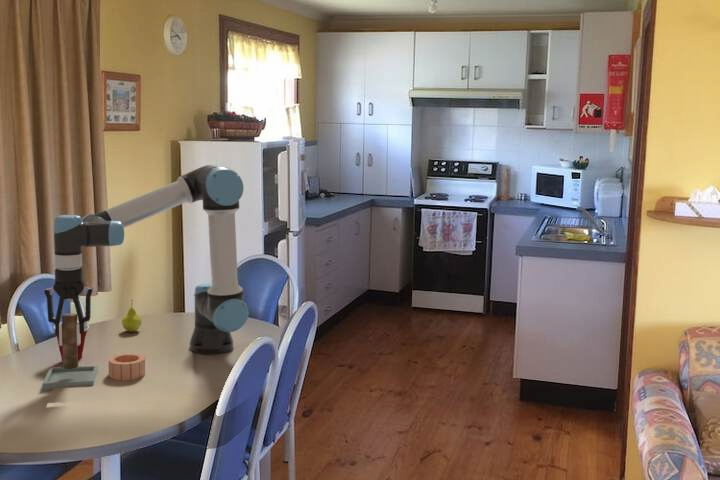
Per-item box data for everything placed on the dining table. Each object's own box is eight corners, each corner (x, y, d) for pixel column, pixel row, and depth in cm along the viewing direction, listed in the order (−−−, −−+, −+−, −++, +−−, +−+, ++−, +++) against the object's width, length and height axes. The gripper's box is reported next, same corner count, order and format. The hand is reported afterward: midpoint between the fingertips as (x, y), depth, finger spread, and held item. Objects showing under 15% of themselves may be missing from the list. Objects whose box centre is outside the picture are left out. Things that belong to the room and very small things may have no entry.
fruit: (137, 334, 269) (137, 303, 268) (119, 333, 269) (119, 302, 268) (143, 329, 276) (143, 298, 274) (125, 328, 276) (125, 297, 274)
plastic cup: (78, 368, 232) (77, 331, 230) (47, 364, 234) (46, 328, 232) (96, 357, 242) (95, 322, 240) (66, 354, 244) (66, 319, 242)
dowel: (78, 364, 222) (77, 313, 220) (77, 368, 218) (76, 316, 216) (64, 364, 221) (62, 313, 219) (62, 369, 217) (60, 317, 215)
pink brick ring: (145, 370, 232) (145, 352, 231) (144, 382, 222) (144, 363, 221) (110, 372, 229) (110, 353, 228) (107, 384, 219) (107, 365, 218)
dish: (98, 372, 229) (98, 365, 228) (93, 388, 215) (93, 380, 215) (50, 374, 225) (50, 367, 225) (42, 390, 212) (42, 383, 212)
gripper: (100, 264, 221) (101, 339, 224) (39, 265, 216) (41, 341, 220) (98, 269, 213) (99, 346, 217) (34, 270, 209) (36, 349, 213)
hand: (70, 344), depth 218 cm, fingers closed on dowel, 4 cm apart
